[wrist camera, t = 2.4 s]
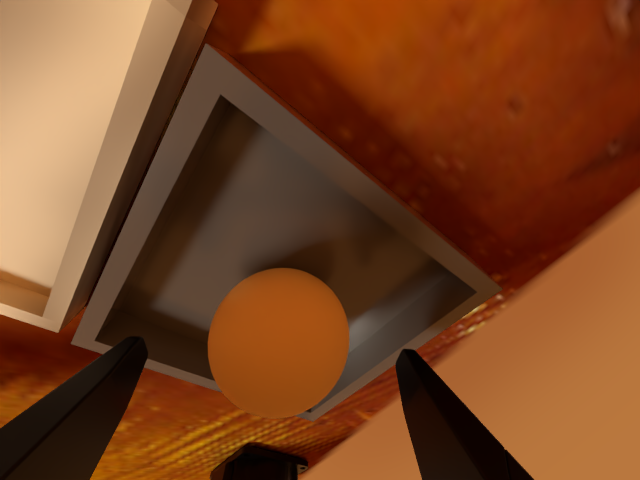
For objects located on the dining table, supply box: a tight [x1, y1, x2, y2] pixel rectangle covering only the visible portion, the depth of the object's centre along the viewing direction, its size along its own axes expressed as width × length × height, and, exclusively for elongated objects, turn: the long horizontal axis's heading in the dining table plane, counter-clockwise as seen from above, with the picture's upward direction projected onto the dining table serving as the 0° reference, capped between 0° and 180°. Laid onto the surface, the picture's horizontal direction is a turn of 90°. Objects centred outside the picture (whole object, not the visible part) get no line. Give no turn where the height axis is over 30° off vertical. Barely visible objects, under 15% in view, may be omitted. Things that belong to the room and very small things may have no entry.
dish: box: [71, 43, 502, 421], centre depth 11 cm, size 12×12×2 cm
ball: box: [208, 268, 349, 419], centre depth 9 cm, size 5×5×5 cm
